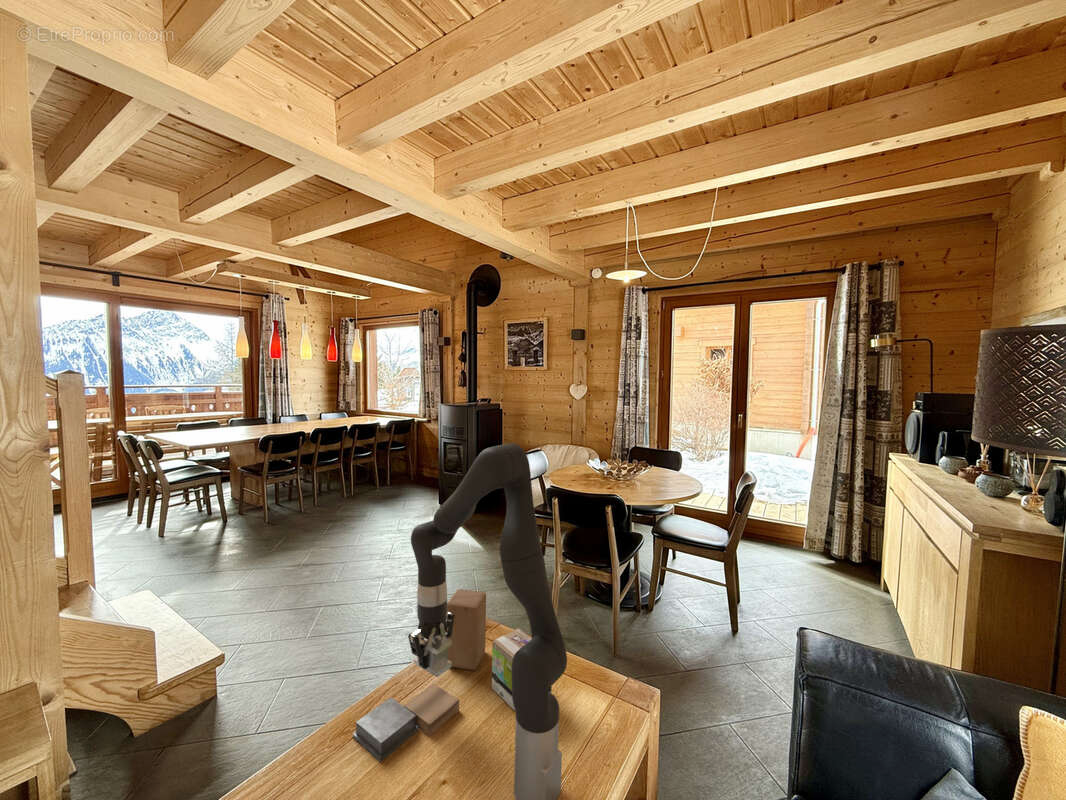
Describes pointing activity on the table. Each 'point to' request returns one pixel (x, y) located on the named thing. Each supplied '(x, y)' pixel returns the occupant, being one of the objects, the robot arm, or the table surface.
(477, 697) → the table surface
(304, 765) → the table surface
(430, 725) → the stand
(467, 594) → the wooden block
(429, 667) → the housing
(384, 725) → the stand
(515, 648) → the tea box
